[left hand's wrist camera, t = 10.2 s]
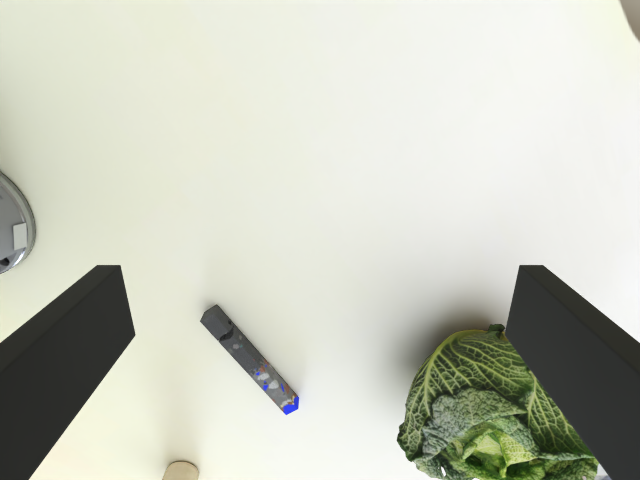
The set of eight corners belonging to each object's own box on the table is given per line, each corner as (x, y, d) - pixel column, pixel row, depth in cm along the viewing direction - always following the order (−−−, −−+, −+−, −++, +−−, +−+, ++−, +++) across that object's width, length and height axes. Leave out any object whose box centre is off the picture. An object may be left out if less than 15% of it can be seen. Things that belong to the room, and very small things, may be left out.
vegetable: (406, 328, 62) (363, 446, 48) (492, 264, 48) (467, 401, 34) (508, 401, 61) (495, 542, 47) (623, 357, 48) (654, 535, 34)
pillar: (212, 313, 50) (299, 410, 56) (216, 304, 52) (300, 399, 58) (200, 321, 51) (287, 416, 57) (204, 312, 53) (288, 405, 59)
